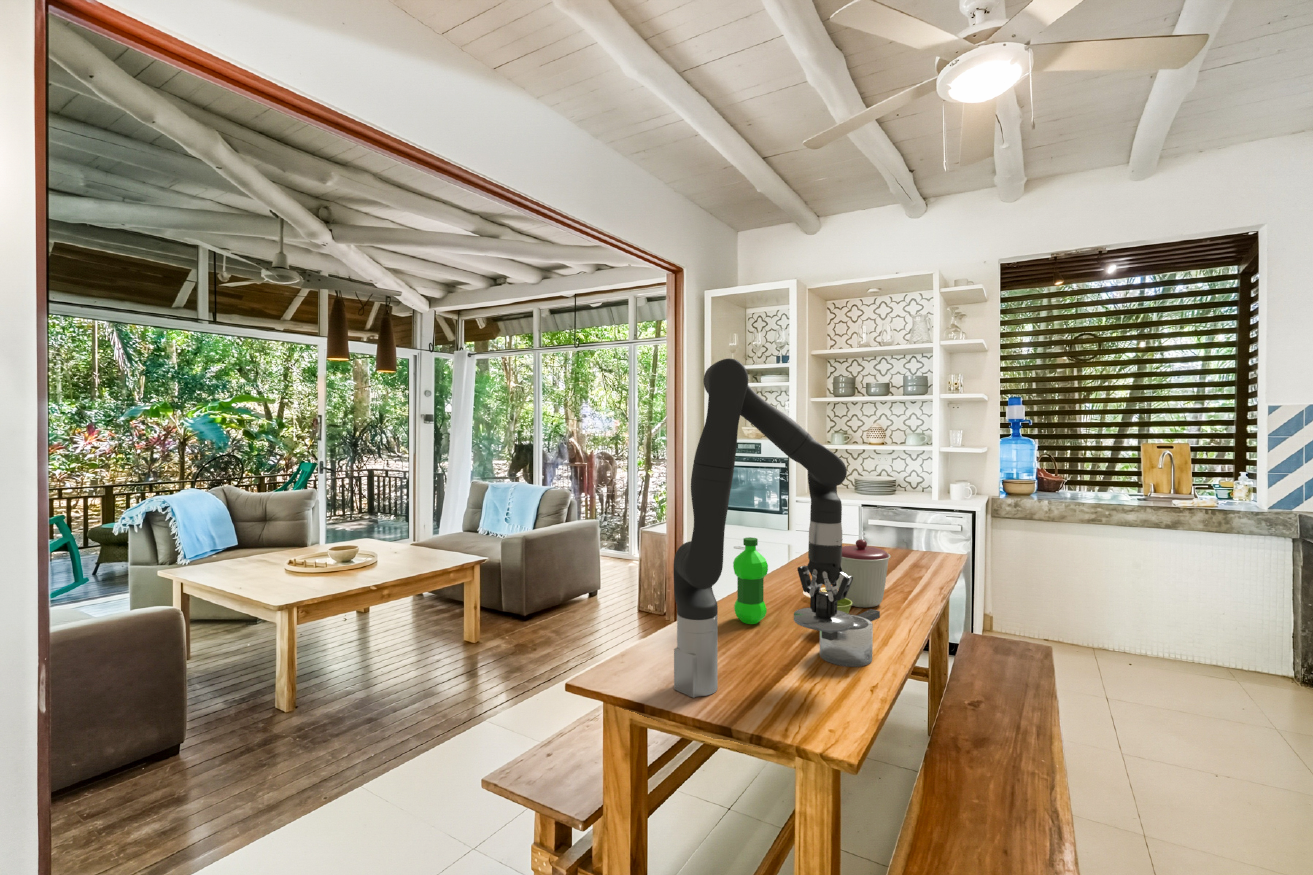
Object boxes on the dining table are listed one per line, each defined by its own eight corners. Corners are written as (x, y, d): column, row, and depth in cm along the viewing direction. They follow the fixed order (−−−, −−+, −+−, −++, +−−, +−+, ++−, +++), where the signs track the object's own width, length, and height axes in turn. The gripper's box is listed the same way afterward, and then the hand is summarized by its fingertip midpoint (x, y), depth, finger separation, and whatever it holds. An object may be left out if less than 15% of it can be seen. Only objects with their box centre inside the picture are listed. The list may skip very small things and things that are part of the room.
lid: (833, 635, 137) (834, 606, 137) (781, 620, 147) (782, 592, 147) (864, 622, 146) (865, 594, 146) (814, 608, 156) (814, 582, 156)
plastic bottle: (773, 620, 190) (774, 538, 189) (755, 629, 182) (755, 543, 181) (745, 613, 197) (745, 534, 195) (726, 622, 188) (726, 539, 187)
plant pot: (847, 638, 174) (847, 608, 174) (813, 632, 179) (813, 602, 179) (855, 628, 182) (856, 599, 182) (823, 623, 187) (823, 594, 187)
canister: (821, 602, 207) (821, 539, 206) (850, 591, 219) (851, 532, 219) (872, 615, 194) (872, 548, 193) (900, 603, 206) (901, 539, 205)
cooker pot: (850, 674, 151) (850, 637, 150) (803, 659, 160) (803, 624, 160) (897, 647, 168) (898, 614, 167) (853, 635, 177) (853, 603, 177)
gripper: (790, 538, 148) (788, 610, 149) (844, 547, 138) (842, 625, 139) (808, 534, 154) (806, 603, 154) (861, 543, 143) (859, 618, 144)
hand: (823, 613), depth 146 cm, fingers closed on lid, 3 cm apart
